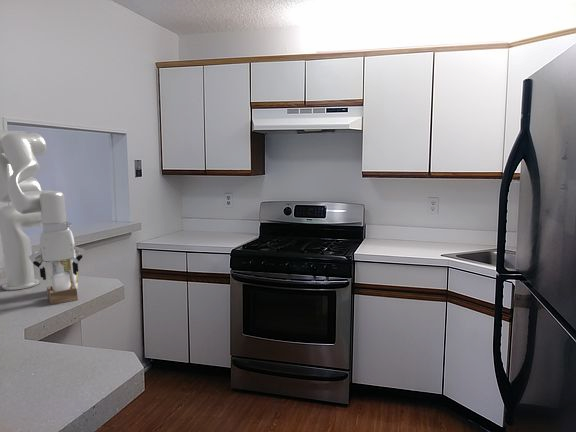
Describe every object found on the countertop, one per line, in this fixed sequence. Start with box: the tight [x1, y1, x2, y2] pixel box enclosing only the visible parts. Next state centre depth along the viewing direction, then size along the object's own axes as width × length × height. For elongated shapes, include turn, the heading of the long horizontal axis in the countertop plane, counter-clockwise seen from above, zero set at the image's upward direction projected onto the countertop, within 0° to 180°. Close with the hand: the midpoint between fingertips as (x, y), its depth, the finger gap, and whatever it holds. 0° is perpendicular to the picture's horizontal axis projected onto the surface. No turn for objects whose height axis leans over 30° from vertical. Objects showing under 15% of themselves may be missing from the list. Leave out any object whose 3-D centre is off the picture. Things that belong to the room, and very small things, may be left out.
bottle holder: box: [46, 283, 79, 306], centre depth 160 cm, size 10×8×4 cm
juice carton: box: [50, 227, 79, 289], centre depth 169 cm, size 9×8×24 cm
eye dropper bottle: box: [51, 262, 71, 292], centre depth 159 cm, size 4×6×12 cm
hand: (60, 276), depth 159 cm, fingers open, 9 cm apart
